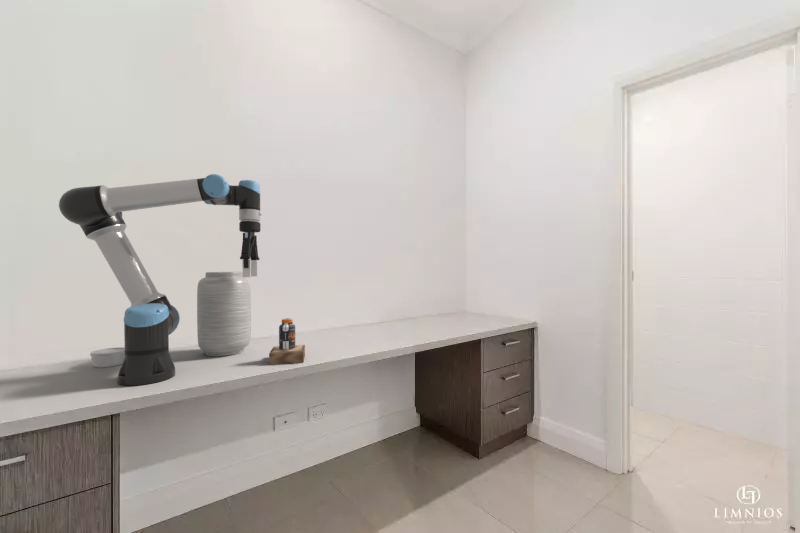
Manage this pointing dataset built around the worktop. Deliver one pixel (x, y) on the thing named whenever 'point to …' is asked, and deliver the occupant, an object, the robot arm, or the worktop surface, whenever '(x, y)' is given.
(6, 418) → the worktop surface
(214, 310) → the vase
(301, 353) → the plinth
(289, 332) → the pill bottle
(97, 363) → the ramekin
